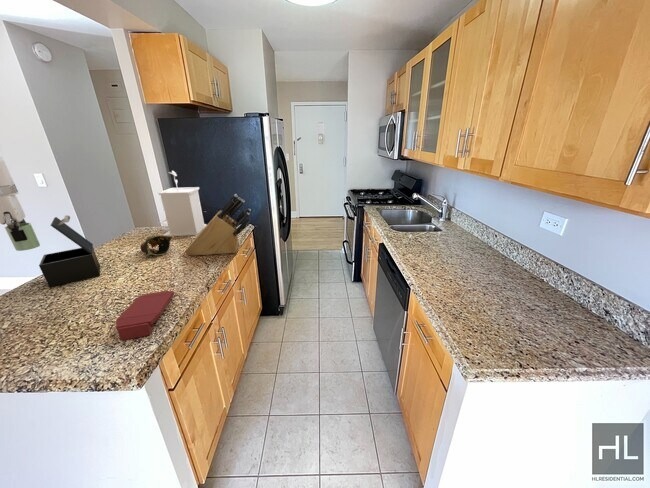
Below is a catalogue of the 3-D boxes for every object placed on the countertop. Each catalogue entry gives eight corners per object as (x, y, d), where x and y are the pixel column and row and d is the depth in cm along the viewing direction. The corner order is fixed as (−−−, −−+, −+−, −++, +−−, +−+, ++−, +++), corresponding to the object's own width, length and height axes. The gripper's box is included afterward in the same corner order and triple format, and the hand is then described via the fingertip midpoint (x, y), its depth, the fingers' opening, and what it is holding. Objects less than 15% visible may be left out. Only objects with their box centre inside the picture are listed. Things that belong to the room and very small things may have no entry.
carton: (142, 306, 103) (112, 341, 80) (139, 294, 102) (108, 327, 78) (176, 300, 106) (157, 333, 83) (174, 289, 105) (154, 319, 82)
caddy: (49, 288, 109) (38, 265, 105) (53, 276, 119) (43, 254, 115) (100, 275, 119) (92, 254, 115) (99, 265, 129) (92, 245, 124)
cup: (11, 251, 96) (-1, 228, 93) (23, 245, 102) (12, 223, 98) (33, 249, 98) (23, 226, 95) (43, 243, 104) (34, 222, 100)
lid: (50, 225, 104) (62, 217, 105) (54, 217, 113) (65, 210, 115) (90, 254, 114) (101, 246, 116) (91, 245, 124) (101, 238, 126)
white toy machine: (159, 236, 166) (142, 172, 151) (177, 223, 191) (164, 167, 176) (198, 235, 168) (185, 171, 153) (210, 222, 193) (200, 167, 178)
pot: (153, 230, 150) (167, 225, 140) (166, 245, 155) (182, 241, 145) (126, 249, 138) (140, 245, 128) (142, 264, 144) (156, 262, 134)
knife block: (253, 252, 142) (247, 196, 131) (185, 257, 137) (172, 199, 126) (255, 244, 153) (249, 192, 141) (192, 248, 148) (180, 194, 136)
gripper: (-8, 188, 96) (14, 234, 103) (-24, 196, 83) (2, 247, 90) (22, 186, 100) (41, 230, 107) (10, 193, 88) (33, 242, 94)
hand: (23, 237), depth 98 cm, fingers closed on cup, 6 cm apart
